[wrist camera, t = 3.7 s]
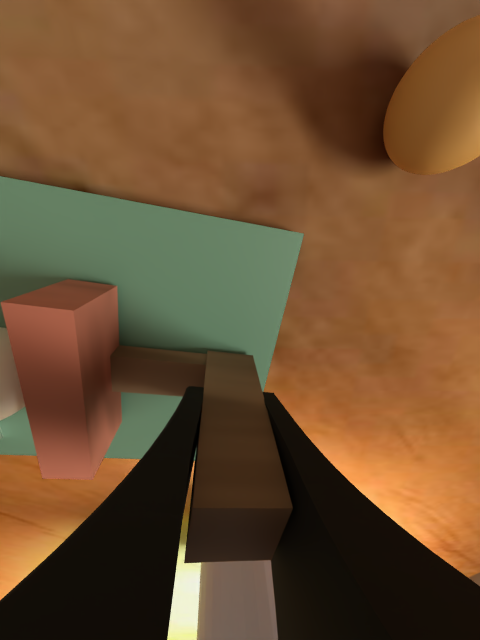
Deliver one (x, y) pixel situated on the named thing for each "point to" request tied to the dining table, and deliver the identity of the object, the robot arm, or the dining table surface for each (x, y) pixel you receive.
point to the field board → (147, 285)
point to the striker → (159, 379)
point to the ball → (8, 379)
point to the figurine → (438, 105)
